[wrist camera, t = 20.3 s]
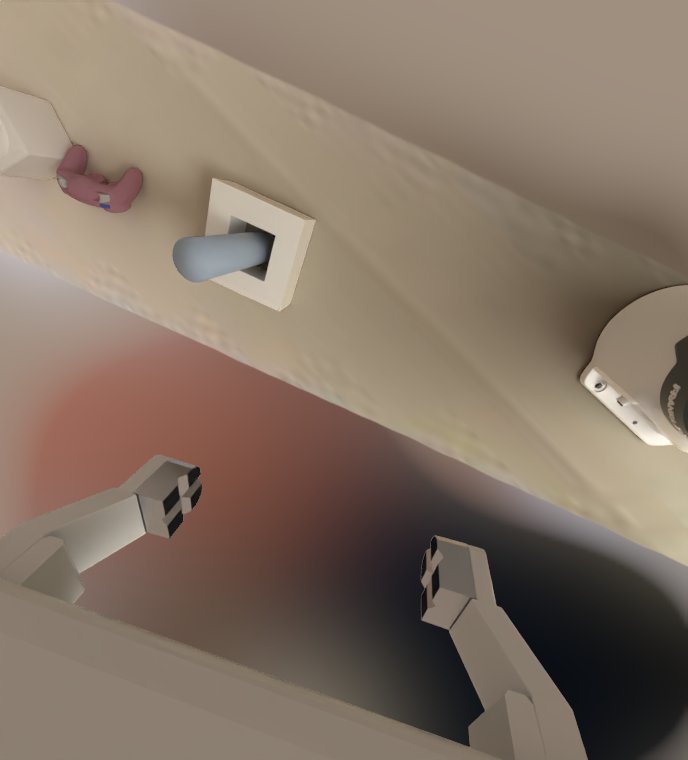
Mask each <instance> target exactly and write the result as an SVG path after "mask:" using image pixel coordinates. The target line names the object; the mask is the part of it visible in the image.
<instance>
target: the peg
mask: <svg viewBox="0 0 688 760" xmlns="http://www.w3.org/2000/svg"><path fill="white" fill-rule="evenodd" d="M274 240H275V239H274V238H273V237H272V235H270V234H269V233H267V232H265V231H257V232H245V233H234V234H222V235H211V236H199V237H188V238H182V239H180V240H178V241H177V242H176V244H175V245H174V248H173V261H174V264H175V266H176V268H177V270H178V271H179V273H180V274H181V275H182V276H183V277H184V278H186V279H187V280H189V281H192V282H202V281H205V280H209V279H212V278H215V277H219V276H222V275H225V274H229V273H232V272H236V271H239V270H242V269H246V268H249V267H252V266H256V265H259V264H262V263H266V262H269V260H270V256H271V252H272V248H273V244H274Z"/></svg>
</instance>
